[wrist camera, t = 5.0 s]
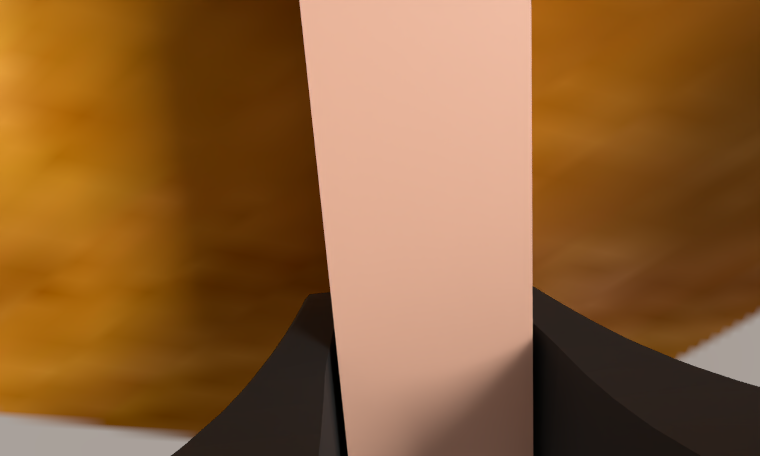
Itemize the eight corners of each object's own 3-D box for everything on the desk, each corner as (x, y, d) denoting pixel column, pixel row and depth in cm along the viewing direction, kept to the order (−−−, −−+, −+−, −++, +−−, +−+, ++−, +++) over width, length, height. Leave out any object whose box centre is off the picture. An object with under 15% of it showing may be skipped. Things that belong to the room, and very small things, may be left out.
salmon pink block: (433, -163, 12) (529, -413, 6) (456, 336, 15) (532, 496, 9) (296, -156, 12) (256, -407, 6) (347, 348, 15) (355, 518, 9)
